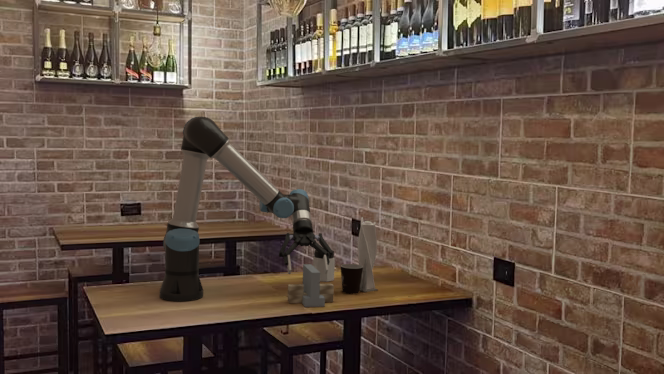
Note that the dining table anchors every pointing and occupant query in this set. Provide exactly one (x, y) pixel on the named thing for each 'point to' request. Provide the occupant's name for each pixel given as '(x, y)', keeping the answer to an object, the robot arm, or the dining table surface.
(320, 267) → the jar
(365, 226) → the skyscraper
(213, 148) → the robot arm
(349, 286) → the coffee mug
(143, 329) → the dining table surface
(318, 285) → the grey angular block
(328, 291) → the brown u-shaped block
